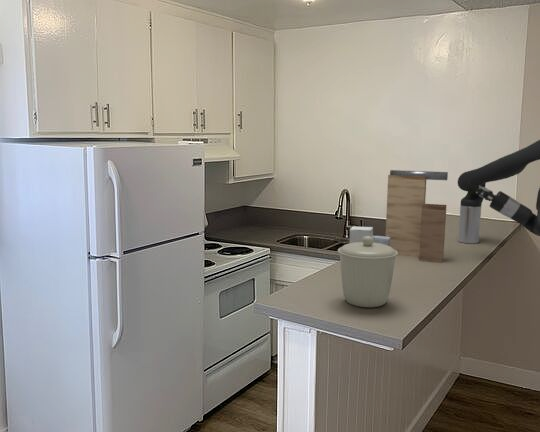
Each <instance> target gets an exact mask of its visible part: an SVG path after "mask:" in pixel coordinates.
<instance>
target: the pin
mask: <svg viewBox="0 0 540 432" xmlns="http://www.w3.org/2000/svg"><path fill="white" fill-rule="evenodd" d="M448 174H449V172H448V171H428V170H427V171H426V170H422V171H421V170H400V169H391V170H390V171H389V175H404V176H426V177H425V180H426V181H427V180H428V181H448V177H449V175H448Z"/></svg>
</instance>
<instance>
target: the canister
mask: <svg viewBox="0 0 540 432" xmlns="http://www.w3.org/2000/svg"><path fill="white" fill-rule="evenodd" d="M373 242H374V239H373V237H371V236H364V237H363V238H362V242H356V243H350V242H349V243H346V244H344V245H342V246H341V247H339V248H338V249H337V252H338V253H337V254H339V258H340V259H339V262H340V271H341V273H340V275H341V283H342V293H343V297H344V299H345V301H346V302H347V303H349V304H350V305H353V306H355V307H360V308H378V307H382V306H383V305H385V304H386V303H387V302H388V300H389V296H390V293H391V287H392V282H393V281H392V280H393V275H394V267H395V263H396V262H395V261H396V257H397V256H398V252H397V251H396V250H394V249H393V248H392V247H390V246H388V245H385V244H380V243H373Z"/></svg>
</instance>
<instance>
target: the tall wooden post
mask: <svg viewBox="0 0 540 432" xmlns="http://www.w3.org/2000/svg"><path fill="white" fill-rule="evenodd" d="M446 217H447V204H438V203H437V204H436V203H435V204H434V203H425V204H423V205H422V215H421V235H420V254H419V256H418V258H419V259H418V261H420V262H431V263H440V262H441V263H443V261H444V253H445V252H444V251H445V240H446V239H445V237H446V236H445V235H446V220H447V218H446ZM441 263H440V264H441Z"/></svg>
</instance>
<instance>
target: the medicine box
mask: <svg viewBox="0 0 540 432" xmlns="http://www.w3.org/2000/svg"><path fill="white" fill-rule="evenodd" d="M373 239H374V242H373V243H380V244H385V245H388V246H390V237H386V236H382V235H373Z"/></svg>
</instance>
